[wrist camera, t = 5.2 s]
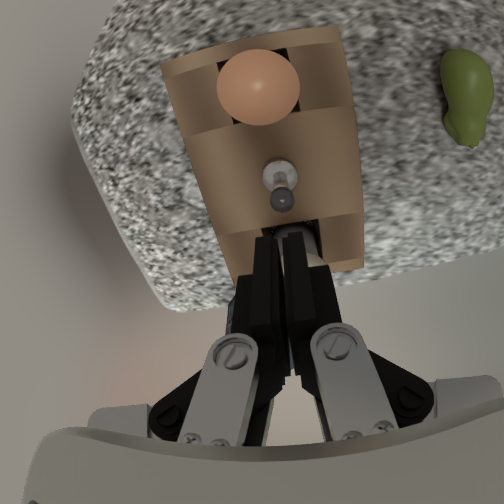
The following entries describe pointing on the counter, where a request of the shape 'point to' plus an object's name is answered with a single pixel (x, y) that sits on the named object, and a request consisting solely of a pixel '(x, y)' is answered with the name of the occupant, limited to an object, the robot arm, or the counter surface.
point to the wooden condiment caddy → (275, 148)
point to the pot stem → (280, 183)
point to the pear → (466, 95)
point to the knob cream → (309, 241)
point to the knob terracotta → (258, 87)
